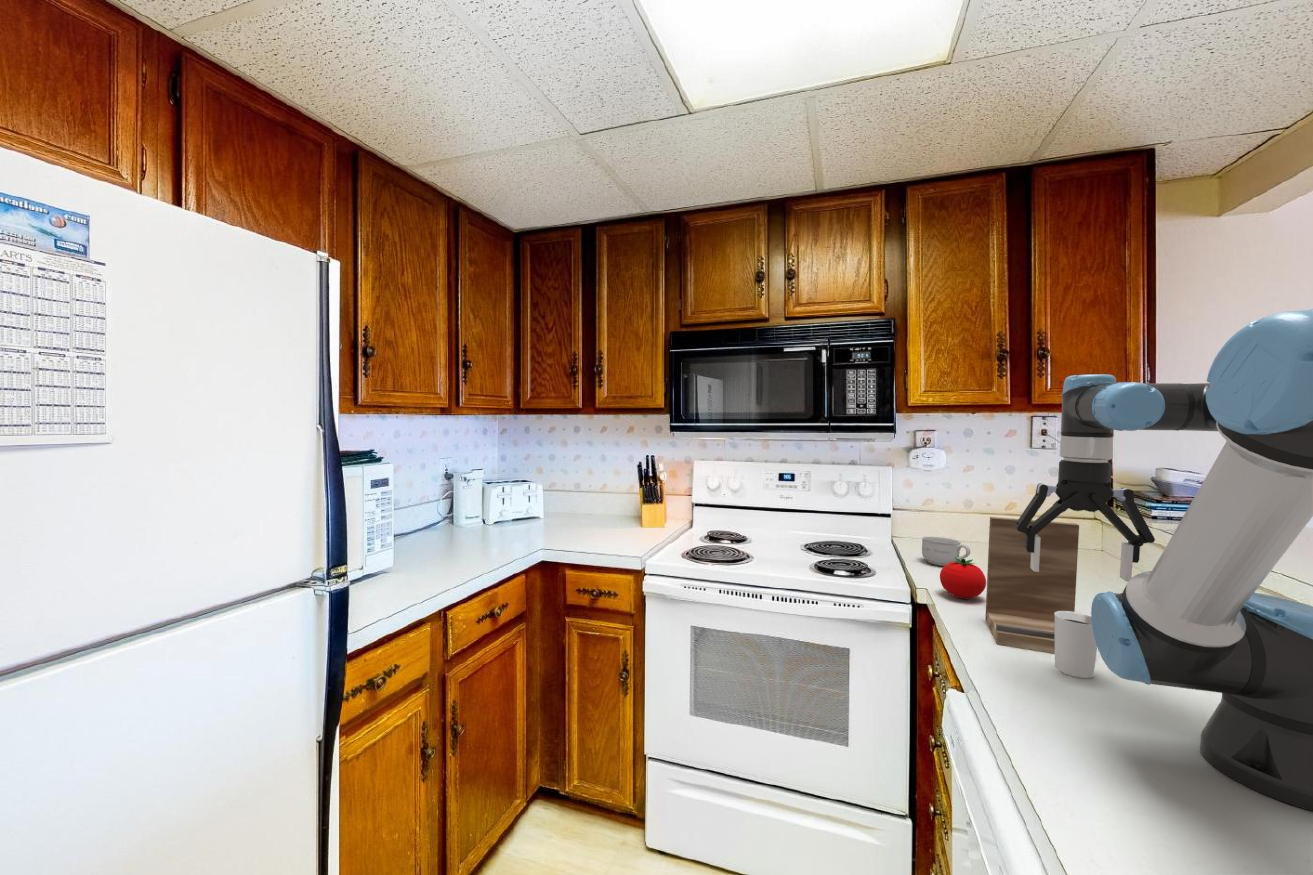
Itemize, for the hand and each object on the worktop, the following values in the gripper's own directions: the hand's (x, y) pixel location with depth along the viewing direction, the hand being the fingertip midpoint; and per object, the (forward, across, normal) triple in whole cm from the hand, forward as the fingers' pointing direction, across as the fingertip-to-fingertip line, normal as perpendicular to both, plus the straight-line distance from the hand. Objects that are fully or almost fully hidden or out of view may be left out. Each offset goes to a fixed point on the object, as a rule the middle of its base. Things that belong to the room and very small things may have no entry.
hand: (1078, 574), depth 98 cm
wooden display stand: (+18, +3, -14) cm, 23 cm away
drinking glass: (+18, 0, 0) cm, 18 cm away
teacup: (+18, +15, -67) cm, 71 cm away
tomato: (+18, +14, -36) cm, 43 cm away
